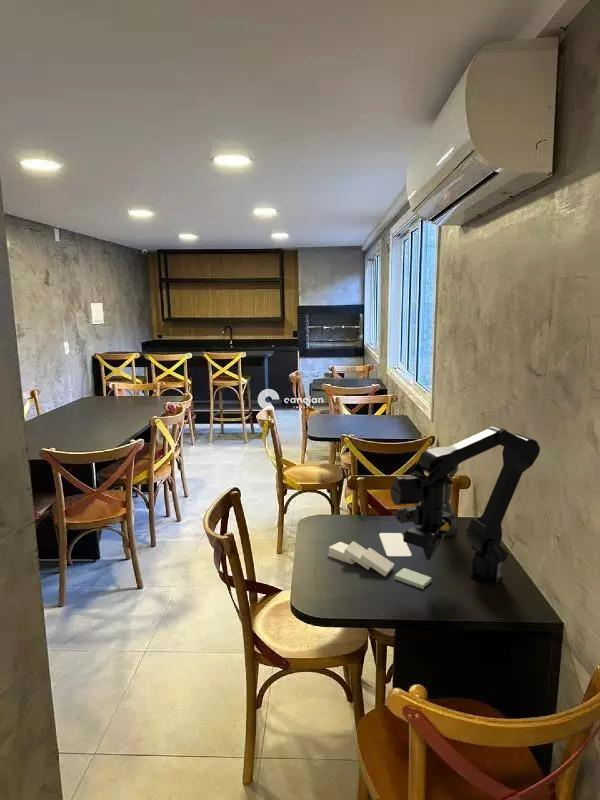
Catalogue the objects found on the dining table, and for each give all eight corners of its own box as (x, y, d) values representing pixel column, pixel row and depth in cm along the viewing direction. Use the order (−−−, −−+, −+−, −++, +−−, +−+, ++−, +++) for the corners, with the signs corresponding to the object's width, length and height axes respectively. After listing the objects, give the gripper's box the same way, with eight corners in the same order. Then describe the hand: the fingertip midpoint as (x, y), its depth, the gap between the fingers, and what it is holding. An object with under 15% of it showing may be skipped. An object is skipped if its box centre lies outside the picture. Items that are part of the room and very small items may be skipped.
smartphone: (387, 556, 152) (378, 533, 167) (386, 558, 152) (378, 535, 167) (412, 556, 152) (401, 533, 167) (412, 558, 152) (401, 535, 167)
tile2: (394, 564, 145) (369, 547, 148) (387, 572, 140) (361, 554, 144) (392, 568, 145) (367, 551, 148) (385, 576, 141) (359, 559, 144)
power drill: (459, 546, 159) (464, 466, 155) (428, 543, 161) (432, 463, 156) (453, 520, 179) (458, 448, 174) (426, 517, 180) (430, 446, 176)
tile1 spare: (431, 577, 139) (403, 567, 144) (422, 585, 135) (394, 574, 140) (431, 583, 139) (403, 573, 144) (422, 591, 135) (394, 580, 140)
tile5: (361, 555, 151) (337, 547, 156) (352, 561, 147) (328, 553, 152) (361, 560, 152) (337, 552, 156) (352, 567, 148) (328, 558, 152)
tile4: (361, 550, 151) (340, 541, 156) (350, 556, 147) (328, 546, 153) (361, 556, 151) (340, 546, 156) (350, 561, 147) (328, 552, 153)
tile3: (377, 556, 148) (353, 540, 151) (370, 565, 144) (345, 549, 147) (375, 560, 149) (351, 545, 151) (368, 569, 144) (343, 553, 147)
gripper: (418, 484, 145) (415, 538, 148) (385, 504, 130) (382, 563, 133) (458, 493, 138) (454, 549, 141) (427, 515, 124) (424, 577, 126)
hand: (428, 559), depth 136 cm, fingers closed
